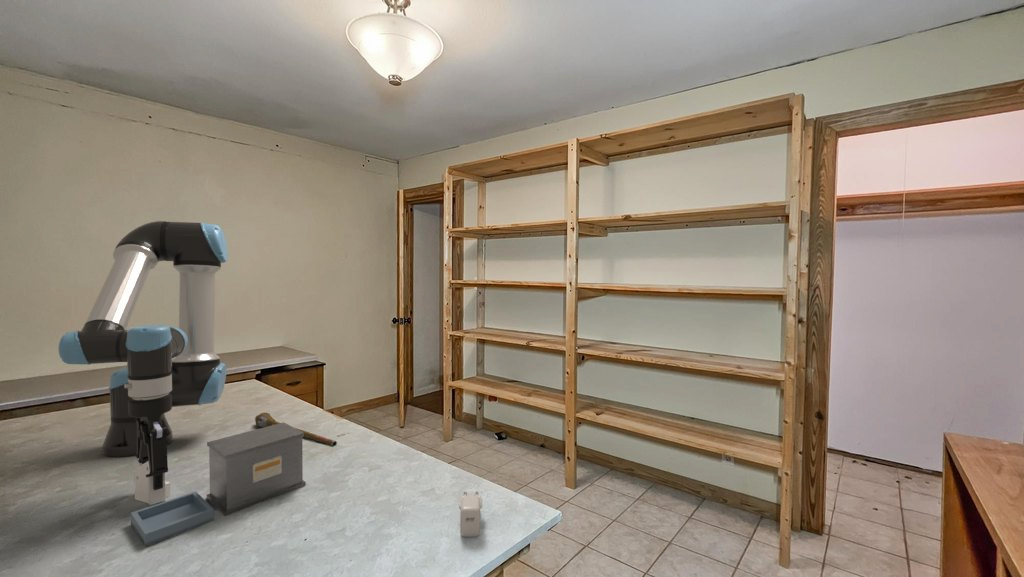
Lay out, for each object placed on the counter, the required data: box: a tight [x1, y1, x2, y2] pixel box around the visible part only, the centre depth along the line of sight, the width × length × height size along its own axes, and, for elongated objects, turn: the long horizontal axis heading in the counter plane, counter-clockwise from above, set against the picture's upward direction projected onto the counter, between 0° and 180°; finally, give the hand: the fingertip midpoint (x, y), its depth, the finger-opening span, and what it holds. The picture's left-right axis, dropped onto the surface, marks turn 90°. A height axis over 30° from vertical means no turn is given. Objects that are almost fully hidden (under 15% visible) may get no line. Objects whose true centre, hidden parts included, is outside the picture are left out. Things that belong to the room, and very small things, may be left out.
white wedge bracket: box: [133, 461, 171, 504], centre depth 97 cm, size 4×10×9 cm, turn 71°
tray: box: [130, 491, 215, 547], centre depth 89 cm, size 11×11×2 cm
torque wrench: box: [254, 412, 338, 447], centre depth 135 cm, size 5×35×5 cm
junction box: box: [206, 422, 307, 517], centre depth 101 cm, size 11×17×13 cm, turn 142°
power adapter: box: [458, 491, 483, 538], centre depth 91 cm, size 11×5×6 cm, turn 4°
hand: (152, 496), depth 98 cm, fingers open, 7 cm apart
